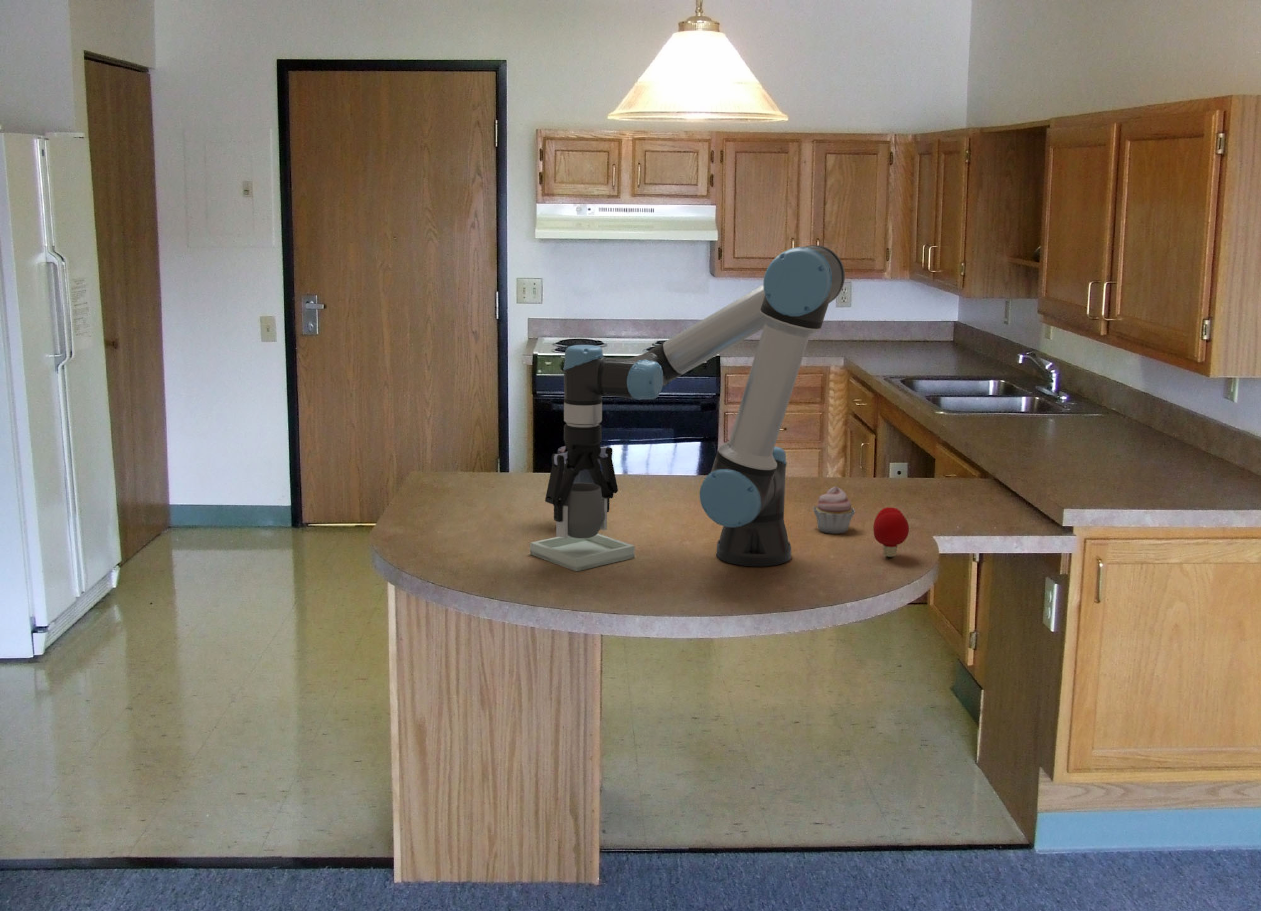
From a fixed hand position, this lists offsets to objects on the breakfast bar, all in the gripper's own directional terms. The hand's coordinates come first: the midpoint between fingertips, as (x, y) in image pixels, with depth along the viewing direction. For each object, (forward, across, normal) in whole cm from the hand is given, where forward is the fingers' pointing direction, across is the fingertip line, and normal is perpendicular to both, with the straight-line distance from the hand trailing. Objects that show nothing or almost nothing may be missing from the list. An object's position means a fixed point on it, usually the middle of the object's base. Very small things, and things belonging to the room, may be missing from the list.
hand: (581, 532), depth 266 cm
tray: (+5, 0, 0) cm, 5 cm away
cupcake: (+5, -55, +19) cm, 59 cm away
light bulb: (+5, -48, +40) cm, 63 cm away
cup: (+1, 0, 0) cm, 1 cm away
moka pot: (+5, -14, -17) cm, 23 cm away
